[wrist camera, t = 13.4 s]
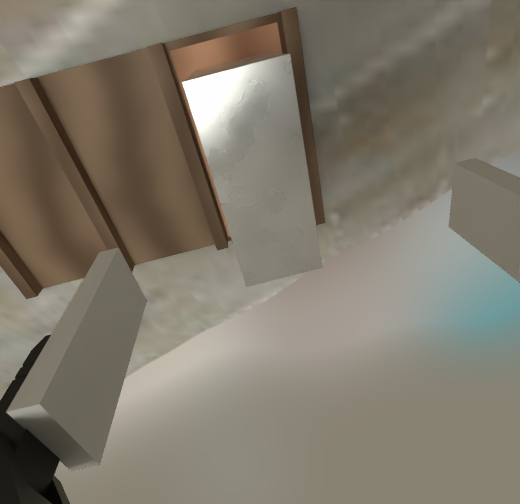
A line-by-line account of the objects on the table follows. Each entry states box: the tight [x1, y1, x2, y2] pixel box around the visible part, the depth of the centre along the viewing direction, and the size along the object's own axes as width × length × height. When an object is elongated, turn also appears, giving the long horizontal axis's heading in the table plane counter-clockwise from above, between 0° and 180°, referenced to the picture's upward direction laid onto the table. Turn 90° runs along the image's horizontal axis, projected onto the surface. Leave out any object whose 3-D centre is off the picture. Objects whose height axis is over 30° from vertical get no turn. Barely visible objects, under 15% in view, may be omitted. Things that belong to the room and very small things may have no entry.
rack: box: [0, 7, 325, 299], centre depth 27 cm, size 28×16×2 cm, turn 103°
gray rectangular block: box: [182, 53, 322, 287], centre depth 22 cm, size 5×12×10 cm, turn 13°
